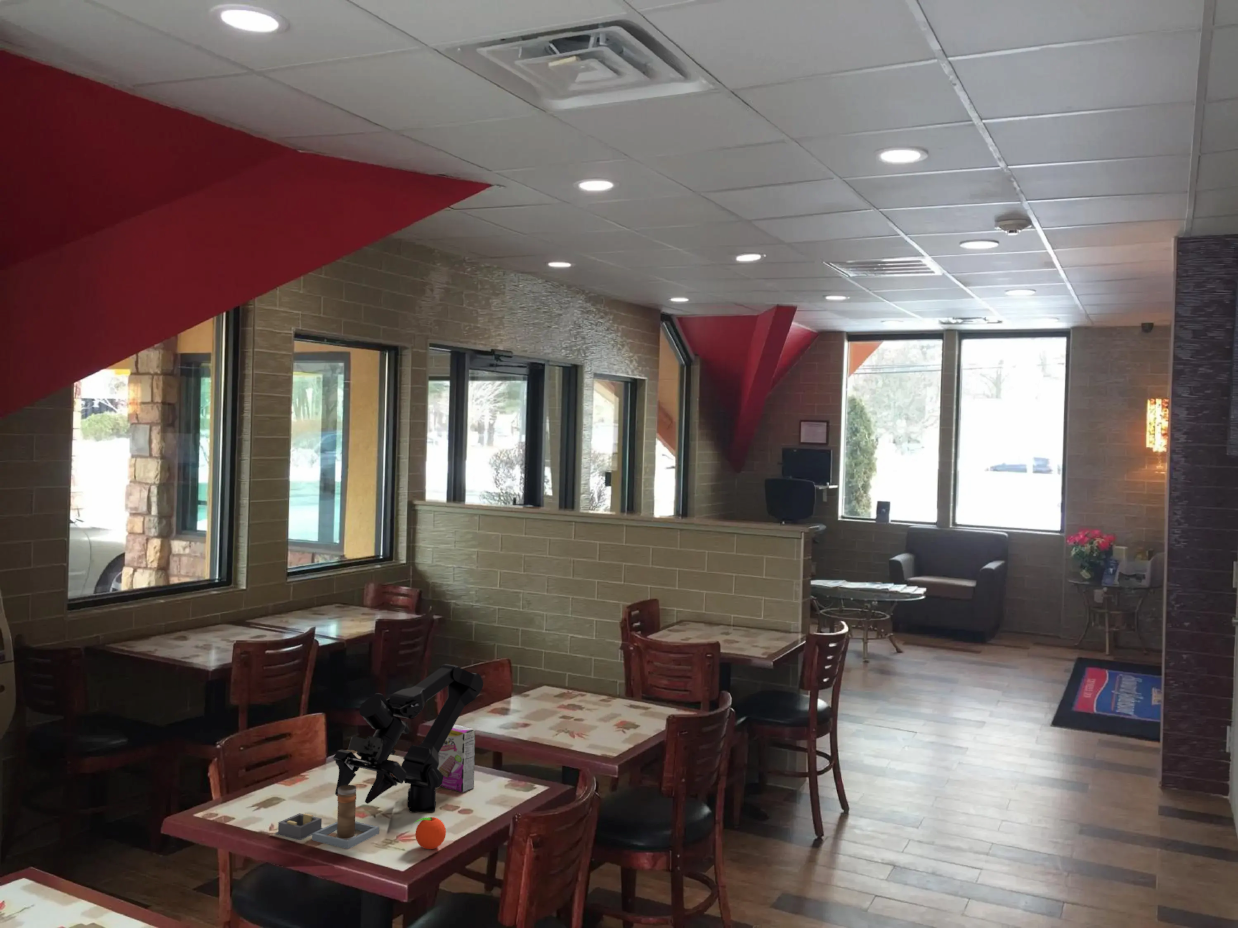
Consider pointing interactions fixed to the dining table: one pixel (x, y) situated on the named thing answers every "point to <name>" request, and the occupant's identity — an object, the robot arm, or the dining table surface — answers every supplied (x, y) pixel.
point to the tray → (324, 838)
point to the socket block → (299, 826)
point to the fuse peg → (346, 812)
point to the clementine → (430, 832)
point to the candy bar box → (458, 759)
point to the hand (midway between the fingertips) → (351, 798)
